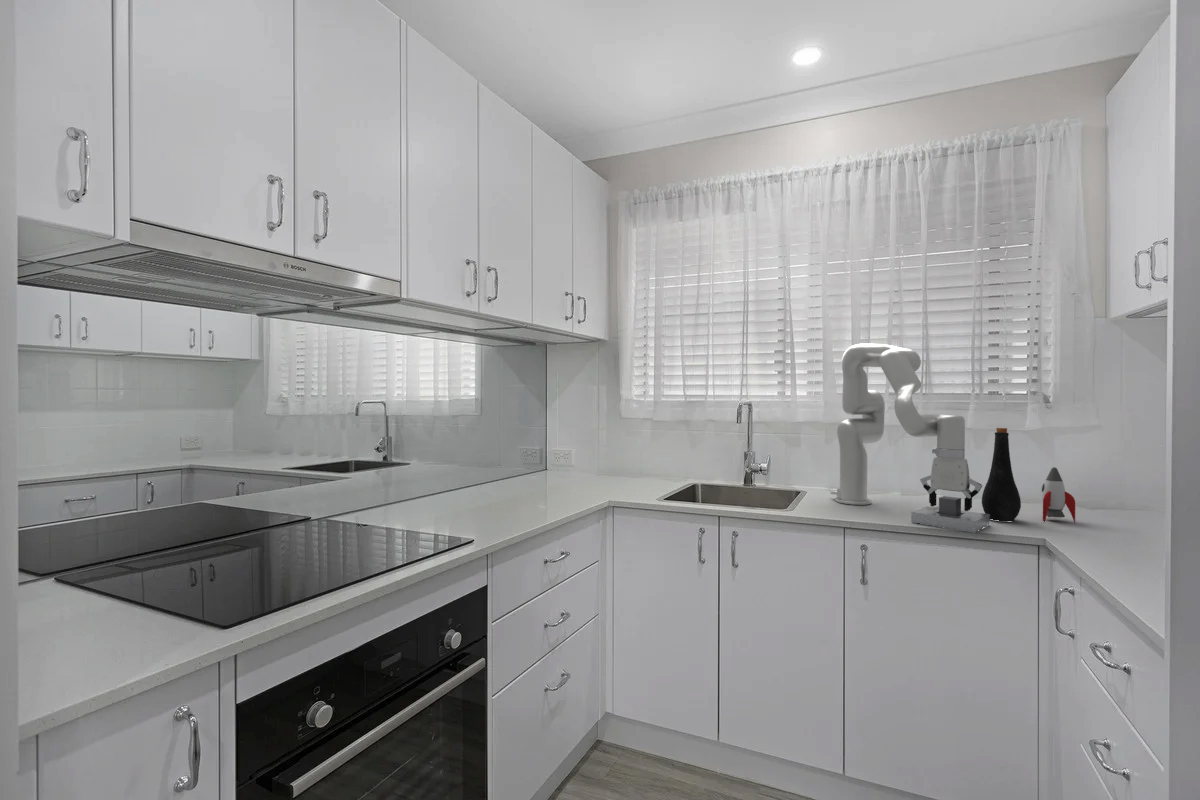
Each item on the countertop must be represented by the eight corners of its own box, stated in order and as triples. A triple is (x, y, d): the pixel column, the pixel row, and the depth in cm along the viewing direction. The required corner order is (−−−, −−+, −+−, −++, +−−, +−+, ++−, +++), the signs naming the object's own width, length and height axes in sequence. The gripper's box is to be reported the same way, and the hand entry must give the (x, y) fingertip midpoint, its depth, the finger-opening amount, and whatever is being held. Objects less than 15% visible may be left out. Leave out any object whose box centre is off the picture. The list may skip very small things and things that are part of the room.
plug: (938, 523, 186) (938, 497, 186) (946, 519, 191) (946, 495, 191) (955, 525, 183) (955, 500, 183) (963, 522, 188) (963, 497, 188)
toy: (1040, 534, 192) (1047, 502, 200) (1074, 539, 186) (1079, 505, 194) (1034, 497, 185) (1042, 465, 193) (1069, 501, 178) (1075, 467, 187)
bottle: (1020, 525, 185) (1021, 429, 184) (980, 520, 191) (981, 428, 191) (1021, 519, 193) (1022, 427, 193) (982, 514, 200) (983, 426, 199)
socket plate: (911, 522, 188) (911, 509, 188) (927, 516, 198) (927, 503, 198) (975, 532, 175) (975, 518, 175) (989, 525, 184) (989, 511, 184)
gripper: (916, 452, 190) (916, 505, 190) (978, 457, 177) (977, 514, 177) (925, 451, 195) (925, 502, 195) (985, 455, 182) (985, 510, 182)
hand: (950, 508), depth 186 cm, fingers open, 9 cm apart
